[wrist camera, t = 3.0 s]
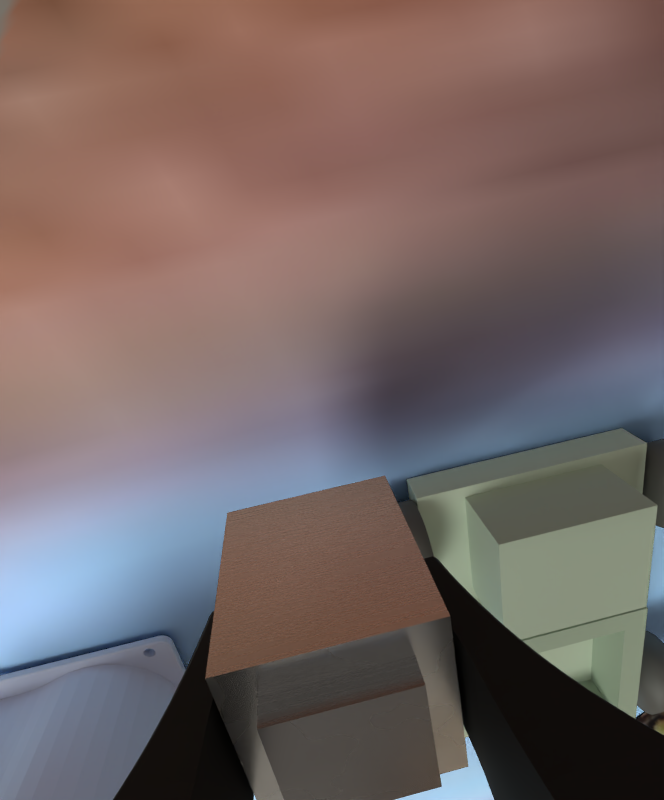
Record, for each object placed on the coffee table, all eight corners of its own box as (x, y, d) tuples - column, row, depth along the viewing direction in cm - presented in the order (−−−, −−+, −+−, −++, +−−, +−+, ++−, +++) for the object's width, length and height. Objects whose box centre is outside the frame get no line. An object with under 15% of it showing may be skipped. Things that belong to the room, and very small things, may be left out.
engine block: (265, 629, 14) (265, 857, 9) (227, 512, 13) (200, 712, 8) (404, 594, 15) (480, 798, 10) (384, 475, 13) (463, 644, 8)
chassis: (411, 721, 26) (439, 816, 22) (368, 488, 20) (395, 558, 16) (632, 662, 27) (699, 743, 23) (656, 419, 21) (754, 469, 17)
